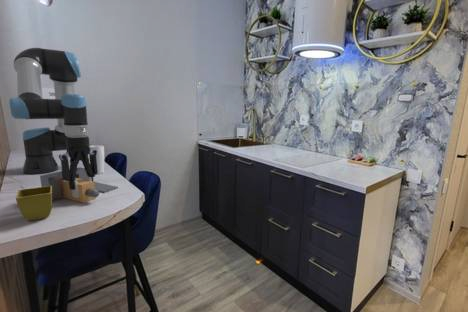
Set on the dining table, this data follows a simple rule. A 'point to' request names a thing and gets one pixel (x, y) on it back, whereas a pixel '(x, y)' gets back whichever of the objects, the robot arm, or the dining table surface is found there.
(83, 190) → the plug
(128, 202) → the dining table surface
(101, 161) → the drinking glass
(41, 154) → the robot arm
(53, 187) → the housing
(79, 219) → the dining table surface
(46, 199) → the flower pot
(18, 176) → the dining table surface
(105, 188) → the mat
